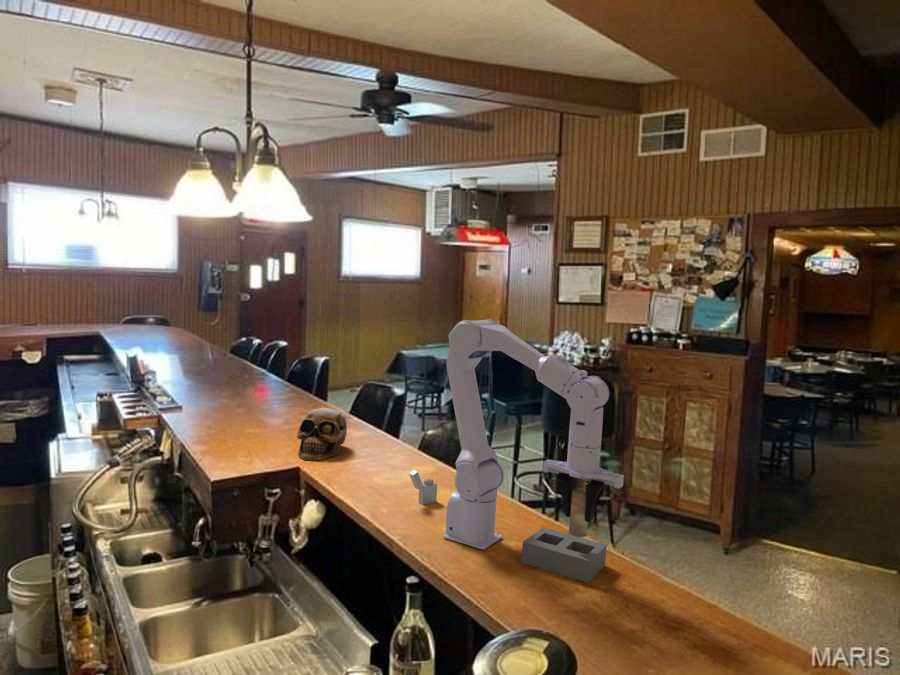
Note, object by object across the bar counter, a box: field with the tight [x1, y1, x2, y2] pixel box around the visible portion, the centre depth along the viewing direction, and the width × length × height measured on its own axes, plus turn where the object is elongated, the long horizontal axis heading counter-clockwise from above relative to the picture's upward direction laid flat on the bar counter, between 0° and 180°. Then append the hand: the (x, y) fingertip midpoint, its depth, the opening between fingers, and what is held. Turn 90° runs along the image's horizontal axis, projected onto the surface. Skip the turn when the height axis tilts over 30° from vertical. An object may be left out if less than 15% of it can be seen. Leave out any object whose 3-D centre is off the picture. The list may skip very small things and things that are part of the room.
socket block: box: [520, 527, 608, 584], centre depth 121 cm, size 13×9×4 cm
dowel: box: [568, 487, 589, 538], centre depth 117 cm, size 3×3×8 cm
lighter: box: [408, 469, 438, 505], centre depth 149 cm, size 7×2×8 cm, turn 127°
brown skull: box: [296, 407, 348, 461], centre depth 187 cm, size 16×17×13 cm
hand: (579, 517), depth 118 cm, fingers closed on dowel, 3 cm apart
